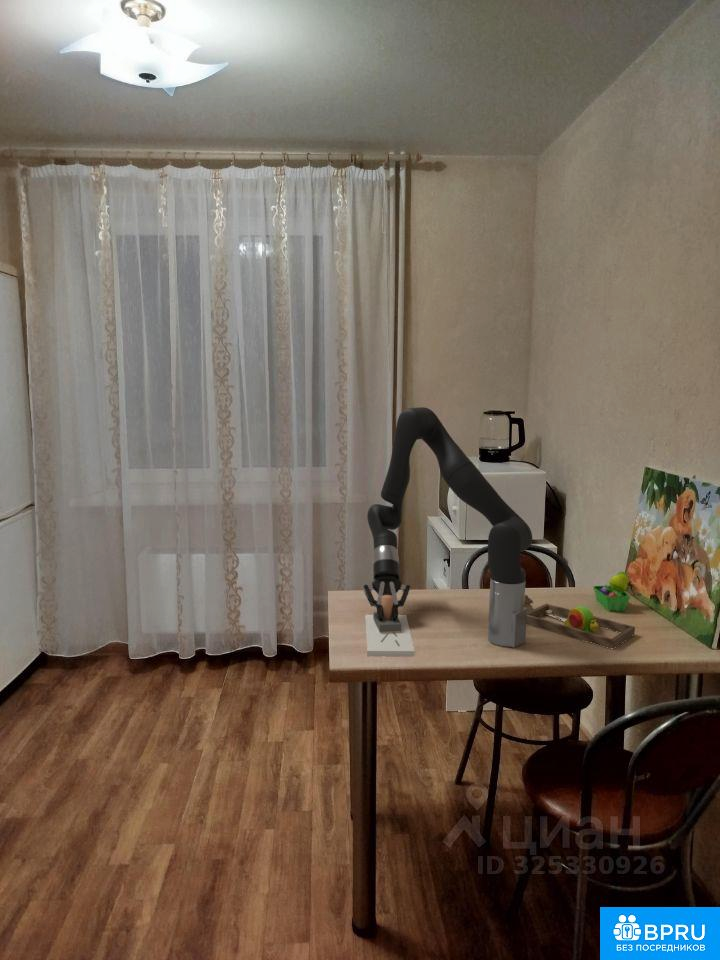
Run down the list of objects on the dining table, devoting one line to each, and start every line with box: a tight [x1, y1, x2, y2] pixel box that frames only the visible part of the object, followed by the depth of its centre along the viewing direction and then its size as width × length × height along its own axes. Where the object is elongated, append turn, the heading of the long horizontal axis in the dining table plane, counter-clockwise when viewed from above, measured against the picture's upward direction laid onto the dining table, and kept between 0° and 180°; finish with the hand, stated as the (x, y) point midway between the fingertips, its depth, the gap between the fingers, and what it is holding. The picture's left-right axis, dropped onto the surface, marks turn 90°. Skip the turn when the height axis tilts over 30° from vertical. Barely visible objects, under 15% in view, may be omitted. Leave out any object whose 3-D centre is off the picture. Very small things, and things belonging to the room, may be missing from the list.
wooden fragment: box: [524, 594, 535, 612], centre depth 209 cm, size 26×11×1 cm, turn 172°
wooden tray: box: [526, 603, 636, 650], centre depth 186 cm, size 27×14×2 cm, turn 46°
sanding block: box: [372, 595, 401, 633], centre depth 182 cm, size 10×6×8 cm, turn 9°
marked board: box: [365, 614, 415, 658], centre depth 179 cm, size 26×12×2 cm, turn 1°
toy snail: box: [544, 605, 600, 633], centre depth 189 cm, size 6×20×7 cm, turn 28°
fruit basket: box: [592, 571, 631, 612], centre depth 204 cm, size 11×9×11 cm
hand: (387, 619), depth 180 cm, fingers closed on sanding block, 3 cm apart
